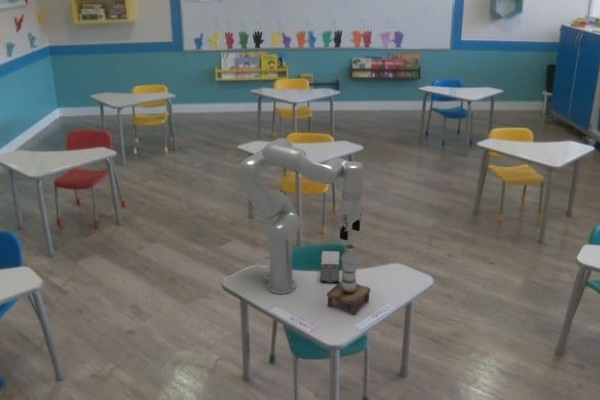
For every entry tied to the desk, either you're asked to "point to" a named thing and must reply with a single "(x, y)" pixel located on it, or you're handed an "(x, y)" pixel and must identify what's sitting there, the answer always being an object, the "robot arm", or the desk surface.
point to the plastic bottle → (349, 269)
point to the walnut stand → (348, 296)
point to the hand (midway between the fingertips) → (349, 234)
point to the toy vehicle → (330, 266)
